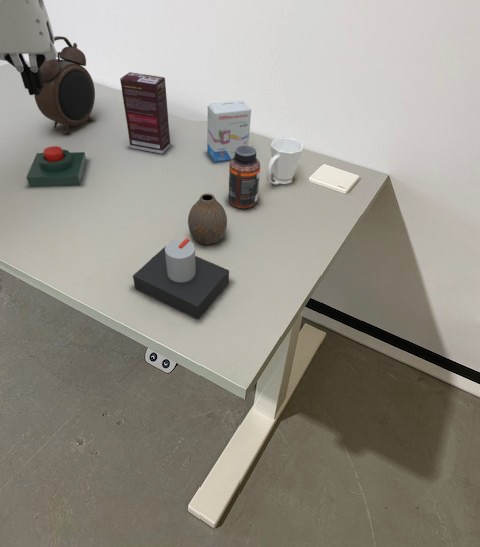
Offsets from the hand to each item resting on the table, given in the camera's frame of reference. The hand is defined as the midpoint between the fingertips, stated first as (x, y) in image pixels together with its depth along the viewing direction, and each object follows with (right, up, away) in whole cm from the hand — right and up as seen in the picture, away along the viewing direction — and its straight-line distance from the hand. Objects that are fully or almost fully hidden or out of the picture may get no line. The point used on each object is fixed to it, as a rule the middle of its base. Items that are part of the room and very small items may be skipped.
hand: (36, 92), depth 78 cm
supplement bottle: (+39, -19, +8) cm, 44 cm away
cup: (+47, -14, +14) cm, 50 cm away
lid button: (-1, -10, +9) cm, 14 cm away
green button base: (-1, -12, +12) cm, 17 cm away
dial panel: (+29, -36, -10) cm, 47 cm away
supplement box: (+17, -4, +22) cm, 28 cm away
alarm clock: (-4, +4, +28) cm, 29 cm away
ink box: (+35, -6, +21) cm, 41 cm away
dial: (+29, -34, -13) cm, 46 cm away
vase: (+32, -27, -1) cm, 42 cm away
